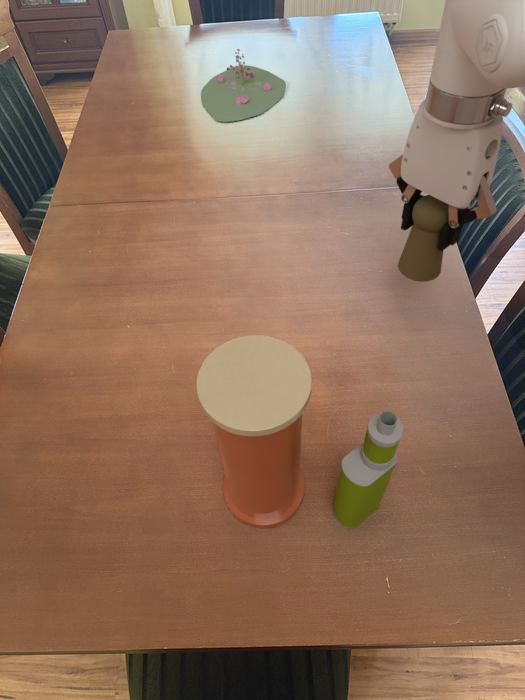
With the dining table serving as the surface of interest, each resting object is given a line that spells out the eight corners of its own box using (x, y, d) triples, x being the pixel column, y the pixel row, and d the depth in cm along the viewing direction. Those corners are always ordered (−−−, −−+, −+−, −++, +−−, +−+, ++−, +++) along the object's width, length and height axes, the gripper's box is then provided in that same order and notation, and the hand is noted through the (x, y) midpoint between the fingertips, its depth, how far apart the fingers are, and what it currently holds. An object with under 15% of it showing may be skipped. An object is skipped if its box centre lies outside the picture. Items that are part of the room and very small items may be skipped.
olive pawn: (435, 286, 70) (455, 221, 61) (392, 275, 72) (405, 209, 63) (445, 259, 73) (465, 193, 65) (404, 248, 75) (418, 183, 67)
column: (314, 518, 61) (326, 416, 42) (231, 537, 60) (205, 442, 41) (293, 443, 67) (295, 325, 48) (218, 460, 66) (189, 346, 47)
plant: (284, 122, 115) (284, 81, 108) (194, 124, 116) (188, 83, 109) (285, 71, 131) (285, 32, 123) (205, 73, 132) (201, 34, 124)
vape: (385, 502, 61) (419, 420, 46) (348, 533, 59) (371, 458, 43) (363, 479, 63) (389, 392, 47) (327, 508, 61) (341, 428, 45)
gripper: (557, 112, 51) (500, 251, 66) (418, 64, 60) (394, 196, 74) (516, 141, 48) (466, 280, 63) (376, 86, 57) (360, 220, 71)
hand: (427, 234), depth 68 cm, fingers closed on olive pawn, 5 cm apart
